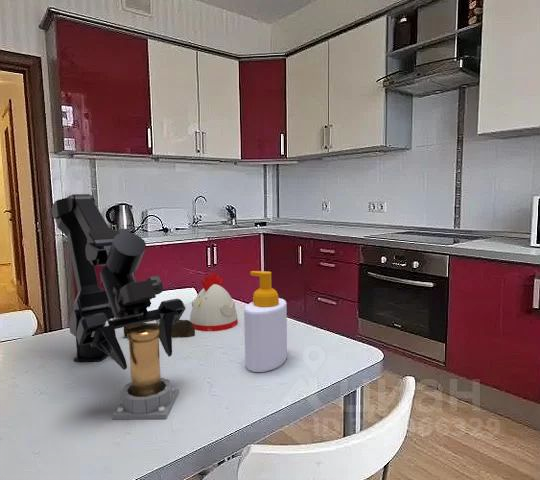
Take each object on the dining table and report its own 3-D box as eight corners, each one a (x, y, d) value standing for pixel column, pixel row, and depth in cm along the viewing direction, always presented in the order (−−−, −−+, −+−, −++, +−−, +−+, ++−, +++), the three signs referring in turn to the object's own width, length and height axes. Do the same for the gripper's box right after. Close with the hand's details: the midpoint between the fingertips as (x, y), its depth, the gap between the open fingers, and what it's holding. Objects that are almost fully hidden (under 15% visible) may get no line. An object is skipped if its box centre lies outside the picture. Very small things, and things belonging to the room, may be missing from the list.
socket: (112, 419, 68) (111, 400, 67) (131, 393, 77) (130, 376, 76) (166, 418, 68) (165, 400, 67) (178, 393, 77) (178, 376, 76)
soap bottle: (263, 348, 99) (262, 266, 96) (295, 353, 95) (294, 268, 93) (236, 369, 87) (233, 276, 85) (270, 376, 83) (268, 279, 81)
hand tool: (122, 339, 107) (121, 322, 107) (129, 334, 111) (128, 317, 111) (191, 340, 106) (191, 323, 105) (196, 335, 110) (195, 318, 109)
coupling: (124, 405, 71) (120, 333, 69) (144, 391, 76) (140, 324, 74) (150, 410, 69) (145, 336, 67) (169, 396, 74) (165, 326, 72)
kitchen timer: (180, 326, 117) (178, 275, 116) (212, 314, 128) (211, 268, 127) (215, 334, 109) (214, 280, 108) (247, 321, 120) (246, 272, 119)
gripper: (76, 269, 66) (102, 353, 59) (179, 257, 78) (211, 325, 71) (66, 306, 73) (89, 386, 66) (162, 290, 85) (190, 356, 78)
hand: (148, 361), depth 70 cm, fingers open, 8 cm apart
